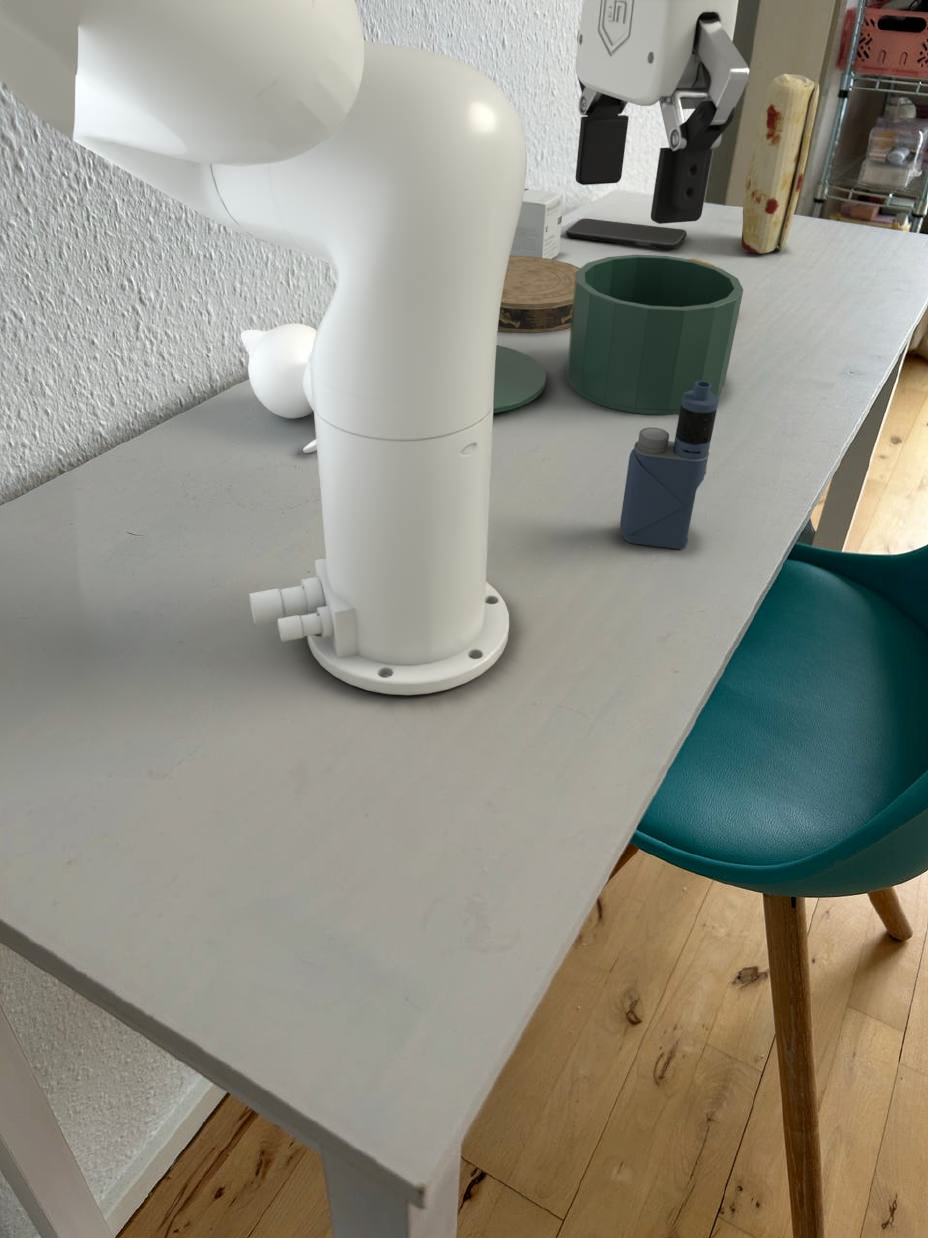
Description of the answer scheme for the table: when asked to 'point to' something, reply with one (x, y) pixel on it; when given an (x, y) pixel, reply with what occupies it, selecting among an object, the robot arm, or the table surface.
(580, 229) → the smartphone
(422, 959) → the table surface
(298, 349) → the cat figurine
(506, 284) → the round wooden disc
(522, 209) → the white cardboard box
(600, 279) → the waste tin
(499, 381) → the tin lid
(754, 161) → the food model
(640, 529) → the vaping device
